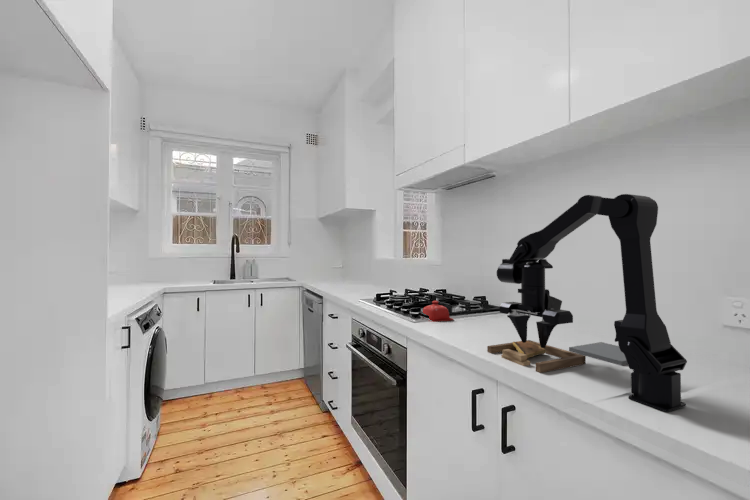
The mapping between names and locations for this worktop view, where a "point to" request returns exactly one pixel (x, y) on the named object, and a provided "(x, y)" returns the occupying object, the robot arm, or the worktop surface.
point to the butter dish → (437, 312)
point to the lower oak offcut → (517, 361)
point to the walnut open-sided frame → (564, 360)
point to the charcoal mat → (601, 352)
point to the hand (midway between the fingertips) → (533, 345)
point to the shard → (528, 348)
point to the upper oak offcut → (514, 355)
